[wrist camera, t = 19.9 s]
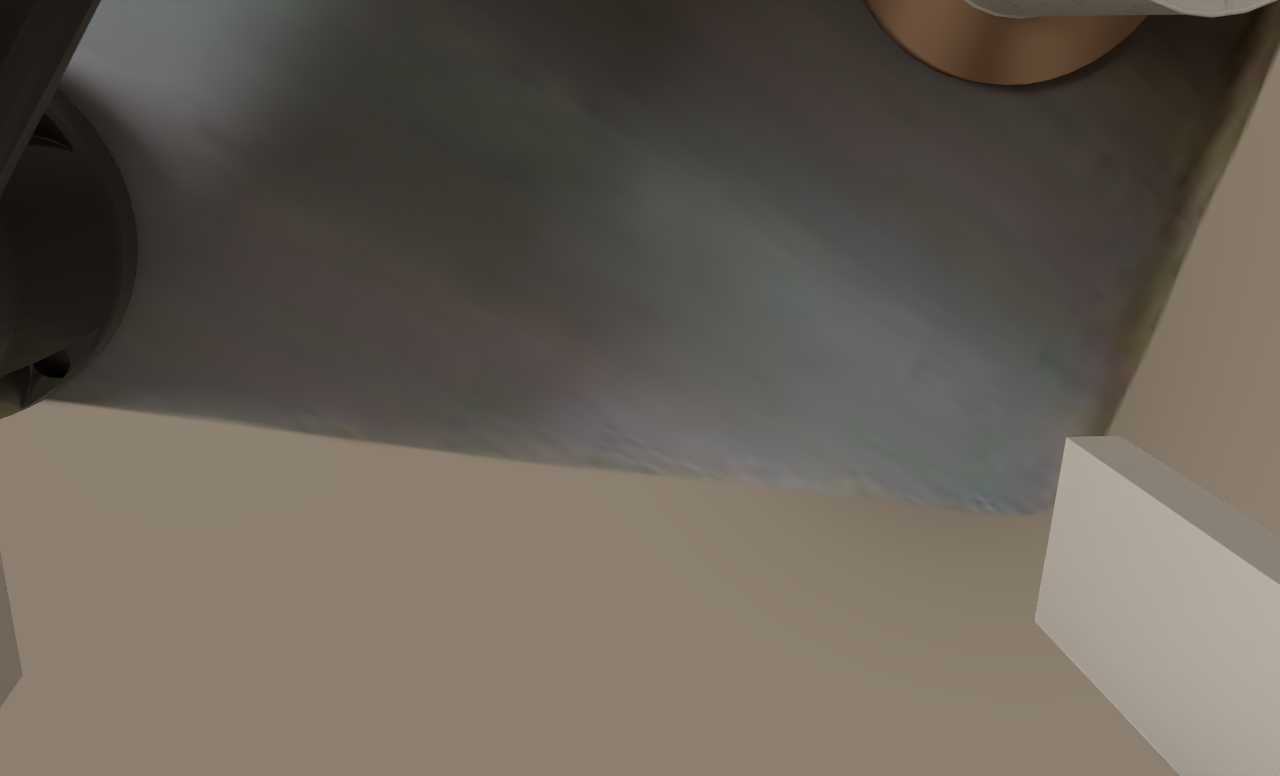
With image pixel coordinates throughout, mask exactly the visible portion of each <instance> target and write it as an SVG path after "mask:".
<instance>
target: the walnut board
mask: <svg viewBox="0 0 1280 776" xmlns="http://www.w3.org/2000/svg"><path fill="white" fill-rule="evenodd" d="M864 2H865V4H866V6H867V8H868V9H869V11H870V12H871V14H872V15H873V17H874V18H875V19H876V21H877V22H878V24H879V25H880V27H881V28H882V29H883V30H884V31H885V32H886V33H887V34H888V35H889V37H890V38H891V39H892V40H893V41H894V42H895V43H896V44H897V45H898V46H900V47H901V48H902V49H903V50H904V51H906V52H907V53H908V54H909V55H910V56H912V57H913V58H915V59H916V60H918V61H920V62H921V63H923V64H925V65H926V66H928V67H930V68H932V69H934V70H936V71H939V72H941V73H943V74H946V75H948V76H951V77H955V78H959V79H963V80H967V81H971V82H980V83H990V84H999V85H1017V84H1030V83H1035V82H1040V81H1046V80H1050V79H1053V78H1056V77H1059V76H1062V75H1065V74H1068V73H1071V72H1073V71H1075V70H1077V69H1079V68H1081V67H1083V66H1085V65H1087V64H1089V63H1091V62H1093V61H1095V60H1096V59H1098V58H1099V57H1101V56H1102V55H1104V54H1105V53H1107V52H1109V51H1110V50H1112V49H1113V48H1114V47H1115V46H1116V45H1118V44H1119V43H1120V42H1121V41H1122V40H1124V39H1125V38H1126V37H1127V36H1128V35H1130V34H1131V33H1132V32H1133V31H1134V30H1135V29H1136V28H1137V26H1138V25H1139V24H1140V23H1141V22H1142V21H1143V20H1144V19H1145V18H1146V17H1147V16H1148V15H1101V16H1038V17H1031V18H1023V19H1016V18H1007V17H999V16H994V15H991V14H988V13H986V12H983V11H981V10H978V9H976V8H973V7H972V6H970V5H969V4H967V3H966V2H965V1H963V0H864Z"/></svg>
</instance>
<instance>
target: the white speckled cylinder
mask: <svg viewBox="0 0 1280 776" xmlns="http://www.w3.org/2000/svg"><path fill="white" fill-rule="evenodd" d="M963 1H965V2H966V3H967V4H969V5H970V6H972V7H973V8H976V9H978V10H981V11H983V12H986V13H988V14H991V15H994V16H999V17H1007V18H1016V19H1023V18H1031V17H1038V16H1101V15H1192V16H1201V17H1209V18H1213V17H1220V16H1227V15H1235V14H1242V13H1247V12H1249V11H1252V10H1254V9H1257V8H1259V7H1262V6H1264V5H1267V4H1270V3H1272V2H1275V1H1277V0H963Z"/></svg>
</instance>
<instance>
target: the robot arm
mask: <svg viewBox="0 0 1280 776" xmlns="http://www.w3.org/2000/svg"><path fill="white" fill-rule="evenodd" d="M100 1H101V0H0V419H1V418H4V417H7V416H10V415H12V414H15V413H17V412H19V411H22V410H24V409H26V408H29V407H31V406H33V405H35V404H36V403H38V402H40V401H42V400H44V399H45V398H47V397H48V396H50V395H52V394H53V393H55V392H56V391H57V390H59V389H60V388H61V387H63V386H64V385H65V384H66V383H67V382H69V381H70V380H71V379H72V378H73V377H74V376H76V375H77V374H78V373H79V372H80V371H81V370H82V369H84V368H85V367H86V366H87V365H88V364H89V363H90V362H91V361H92V360H93V359H94V358H95V357H96V356H97V355H98V354H99V353H100V352H101V350H102V349H103V348H104V347H105V345H106V344H107V343H108V341H109V340H110V338H111V337H112V336H113V334H114V332H115V331H116V329H117V327H118V325H119V324H120V322H121V320H122V317H123V315H124V313H125V311H126V308H127V305H128V302H129V300H130V297H131V293H132V289H133V285H134V279H135V273H136V263H137V239H136V228H135V222H134V215H133V211H132V207H131V203H130V199H129V196H128V193H127V190H126V187H125V185H124V182H123V180H122V177H121V175H120V172H119V170H118V168H117V166H116V164H115V162H114V160H113V158H112V156H111V155H110V153H109V151H108V149H107V148H106V146H105V144H104V143H103V141H102V140H101V138H100V137H99V136H98V134H97V133H96V131H95V130H94V129H93V127H92V126H91V125H90V123H89V122H88V121H87V120H86V118H85V117H84V116H83V115H82V114H81V113H80V112H79V110H78V109H77V108H76V107H75V106H74V105H73V104H72V103H71V102H70V101H69V100H68V99H67V98H66V97H65V96H64V95H63V94H62V93H61V92H59V91H58V90H57V89H56V88H57V86H58V84H59V82H60V80H61V78H62V76H63V74H64V72H65V70H66V68H67V66H68V64H69V62H70V60H71V58H72V56H73V54H74V52H75V50H76V48H77V46H78V45H79V43H80V41H81V39H82V37H83V35H84V33H85V31H86V29H87V27H88V25H89V23H90V21H91V19H92V17H93V15H94V13H95V11H96V9H97V7H98V5H99V3H100ZM1034 621H1035V622H1036V623H1037V624H1038V625H1039V626H1040V628H1041V629H1042V630H1043V631H1044V632H1045V633H1046V634H1047V635H1048V636H1049V637H1050V638H1051V639H1052V640H1053V641H1054V642H1055V644H1057V646H1058V647H1059V648H1060V649H1061V650H1062V651H1063V652H1064V653H1065V654H1066V655H1067V656H1068V657H1069V658H1070V659H1071V660H1072V661H1073V663H1074V664H1075V665H1076V666H1077V667H1078V668H1079V669H1080V670H1081V671H1082V672H1083V673H1084V674H1085V675H1086V676H1087V677H1088V678H1089V679H1090V681H1091V682H1092V683H1093V684H1094V685H1095V686H1096V687H1097V688H1098V689H1099V690H1100V691H1101V692H1102V693H1103V694H1104V695H1105V696H1106V697H1107V699H1108V700H1109V701H1110V702H1111V703H1112V704H1113V705H1114V706H1115V707H1116V708H1117V709H1118V710H1119V711H1120V712H1121V713H1122V715H1123V716H1124V717H1125V718H1126V719H1127V720H1128V721H1129V722H1130V723H1131V724H1132V725H1133V726H1134V727H1135V728H1136V729H1137V730H1138V732H1139V733H1140V734H1141V735H1142V736H1143V737H1144V738H1145V739H1146V740H1147V741H1148V742H1149V743H1150V744H1151V745H1152V746H1153V747H1154V748H1155V750H1156V751H1157V752H1158V753H1159V754H1160V755H1161V756H1162V757H1163V758H1164V759H1165V760H1166V761H1167V762H1168V763H1169V764H1170V765H1171V766H1172V768H1173V769H1174V770H1175V771H1176V772H1177V773H1178V774H1179V775H1180V776H1280V537H1279V536H1277V535H1276V534H1274V533H1273V532H1271V531H1270V530H1268V529H1267V528H1265V527H1263V526H1262V525H1260V524H1259V523H1257V522H1255V521H1254V520H1252V519H1251V518H1249V517H1247V516H1246V515H1244V514H1243V513H1241V512H1240V511H1238V510H1237V509H1235V508H1233V507H1232V506H1230V505H1228V504H1227V503H1225V502H1224V501H1222V500H1221V499H1219V498H1217V497H1216V496H1214V495H1213V494H1211V493H1209V492H1208V491H1206V490H1205V489H1203V488H1202V487H1200V486H1199V485H1197V484H1195V483H1194V482H1192V481H1191V480H1189V479H1188V478H1186V477H1184V476H1183V475H1181V474H1180V473H1178V472H1177V471H1175V470H1173V469H1172V468H1170V467H1169V466H1167V465H1165V464H1164V463H1162V462H1161V461H1159V460H1158V459H1156V458H1154V457H1153V456H1151V455H1150V454H1148V453H1146V452H1145V451H1143V450H1142V449H1140V448H1139V447H1137V446H1135V445H1134V444H1132V443H1131V442H1129V441H1127V440H1126V439H1124V438H1123V437H1121V436H1091V437H1066V442H1065V448H1064V454H1063V459H1062V465H1061V471H1060V477H1059V482H1058V488H1057V494H1056V500H1055V505H1054V511H1053V517H1052V523H1051V528H1050V535H1049V540H1048V546H1047V552H1046V558H1045V563H1044V569H1043V574H1042V581H1041V586H1040V591H1039V598H1038V603H1037V609H1036V614H1035V620H1034ZM21 677H22V669H21V664H20V659H19V653H18V647H17V642H16V637H15V631H14V625H13V620H12V615H11V609H10V603H9V598H8V592H7V586H6V581H5V576H4V570H3V564H2V559H1V553H0V707H1V706H2V704H3V703H4V701H5V700H6V699H7V697H8V695H9V694H10V693H11V691H12V690H13V688H14V687H15V686H16V684H17V683H18V681H19V680H20V678H21Z"/></svg>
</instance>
